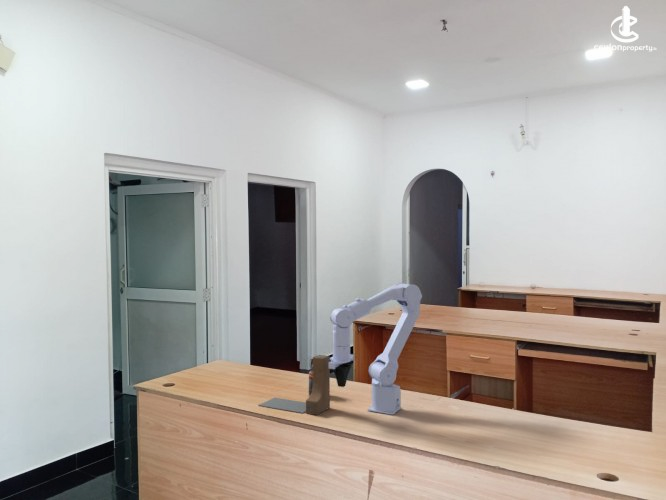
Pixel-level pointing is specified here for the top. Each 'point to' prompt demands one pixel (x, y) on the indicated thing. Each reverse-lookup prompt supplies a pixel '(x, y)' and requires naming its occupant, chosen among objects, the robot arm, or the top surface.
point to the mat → (285, 405)
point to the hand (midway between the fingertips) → (341, 386)
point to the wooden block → (319, 386)
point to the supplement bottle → (310, 380)
